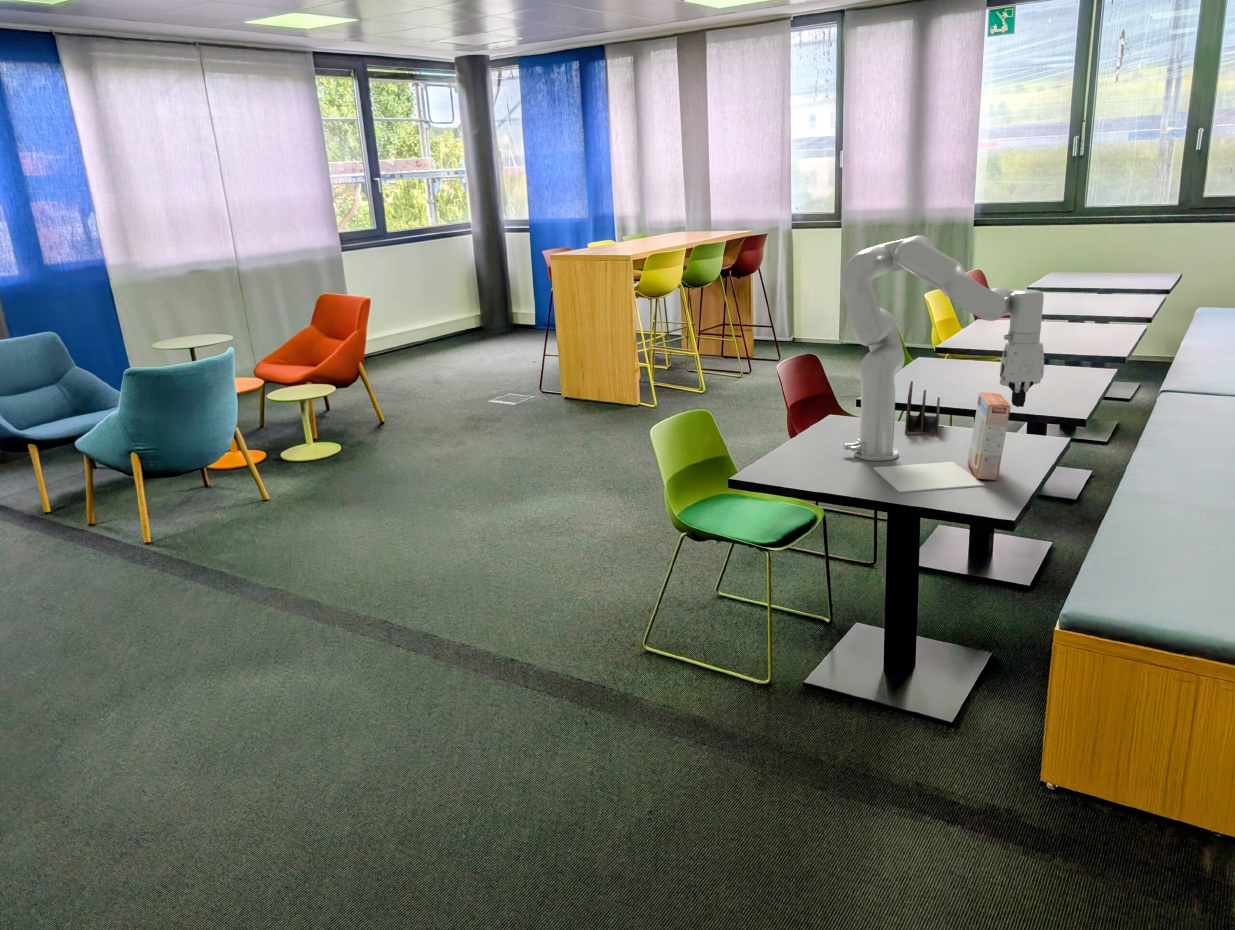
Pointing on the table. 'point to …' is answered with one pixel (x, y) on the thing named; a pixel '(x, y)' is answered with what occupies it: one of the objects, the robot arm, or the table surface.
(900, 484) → the mat
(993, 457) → the cracker box
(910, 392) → the letter holder
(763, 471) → the table surface
